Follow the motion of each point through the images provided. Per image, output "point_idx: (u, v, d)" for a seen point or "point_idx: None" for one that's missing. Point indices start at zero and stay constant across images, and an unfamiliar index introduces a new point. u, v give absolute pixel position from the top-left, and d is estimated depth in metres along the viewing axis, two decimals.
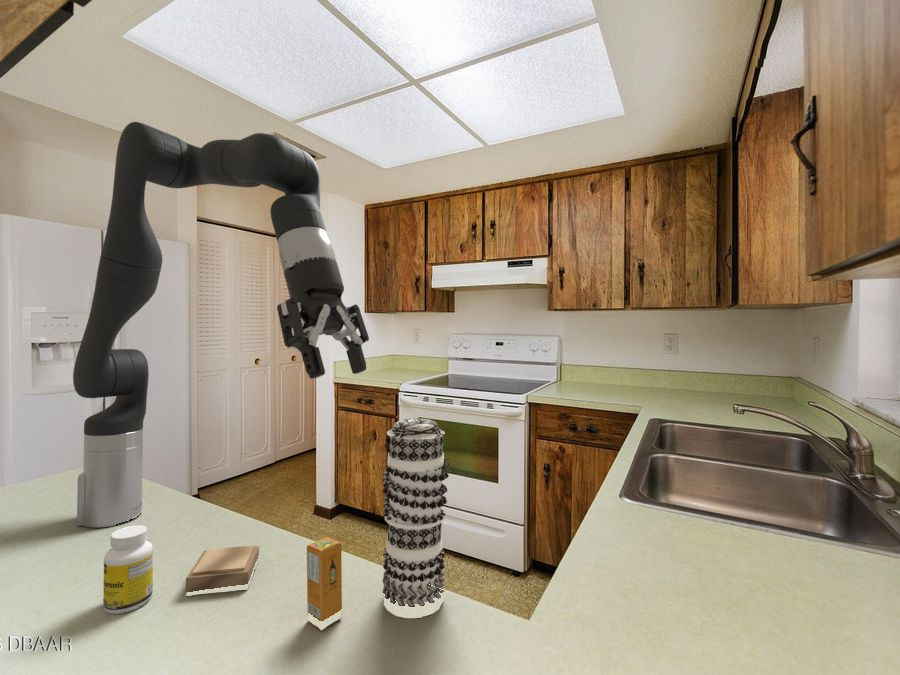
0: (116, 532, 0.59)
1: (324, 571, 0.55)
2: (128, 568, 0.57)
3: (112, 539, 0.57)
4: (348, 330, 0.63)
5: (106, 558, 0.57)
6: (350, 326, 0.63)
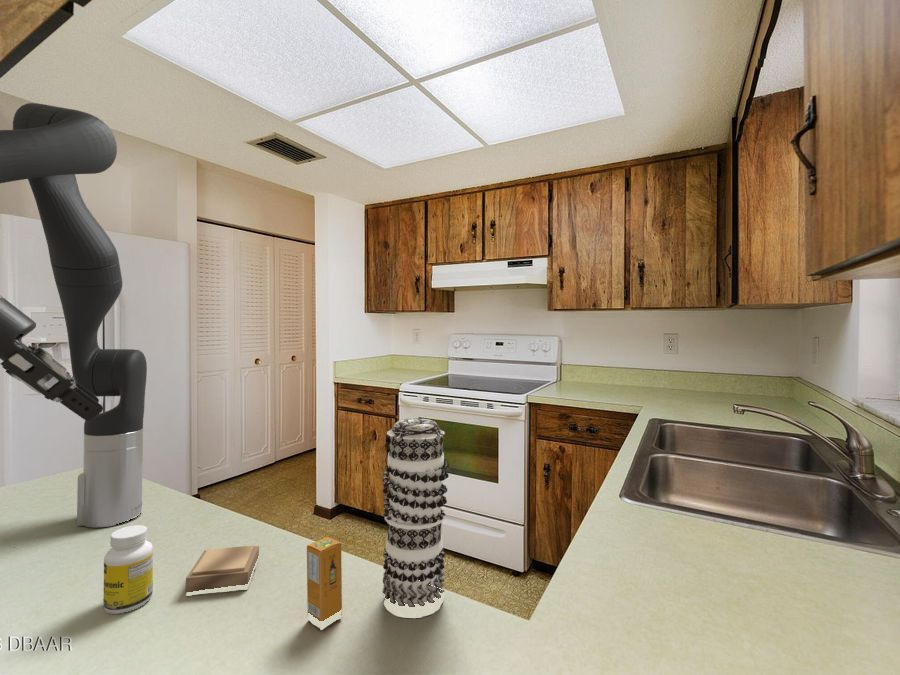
0: (116, 532, 0.59)
1: (324, 571, 0.55)
2: (128, 568, 0.57)
3: (112, 539, 0.57)
4: None
5: (106, 558, 0.57)
6: None
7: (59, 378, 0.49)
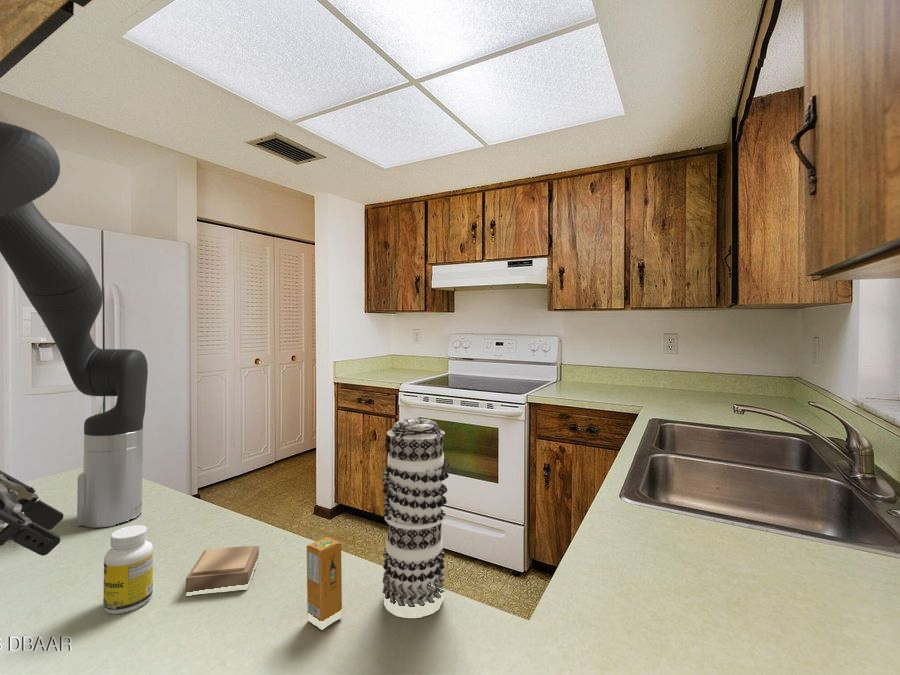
0: (116, 532, 0.59)
1: (324, 571, 0.55)
2: (128, 568, 0.57)
3: (112, 539, 0.57)
4: None
5: (106, 558, 0.57)
6: None
7: (9, 522, 0.47)
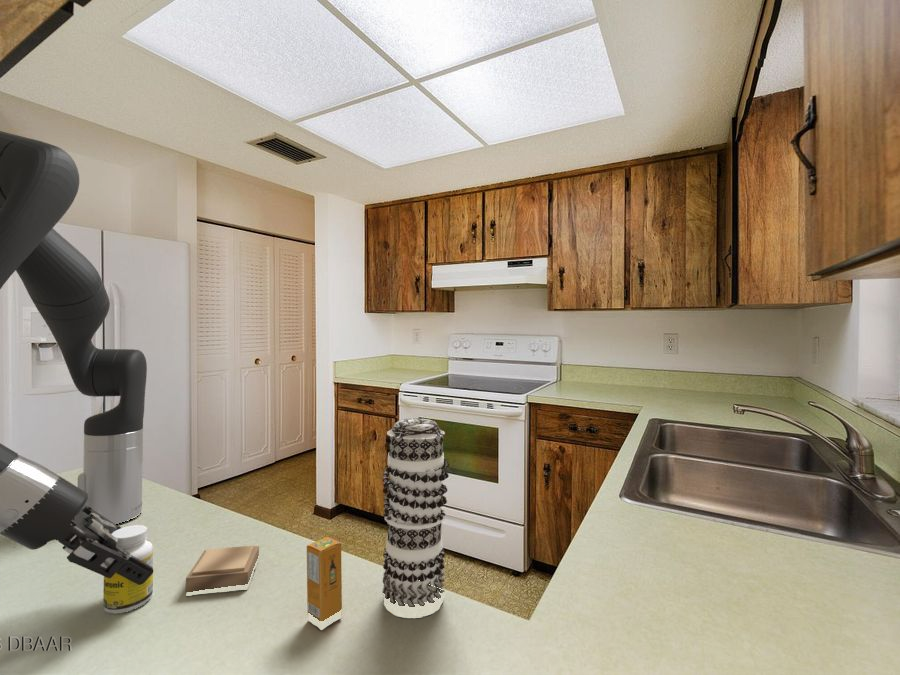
0: (116, 532, 0.59)
1: (324, 571, 0.55)
2: None
3: None
4: None
5: None
6: None
7: (118, 558, 0.54)
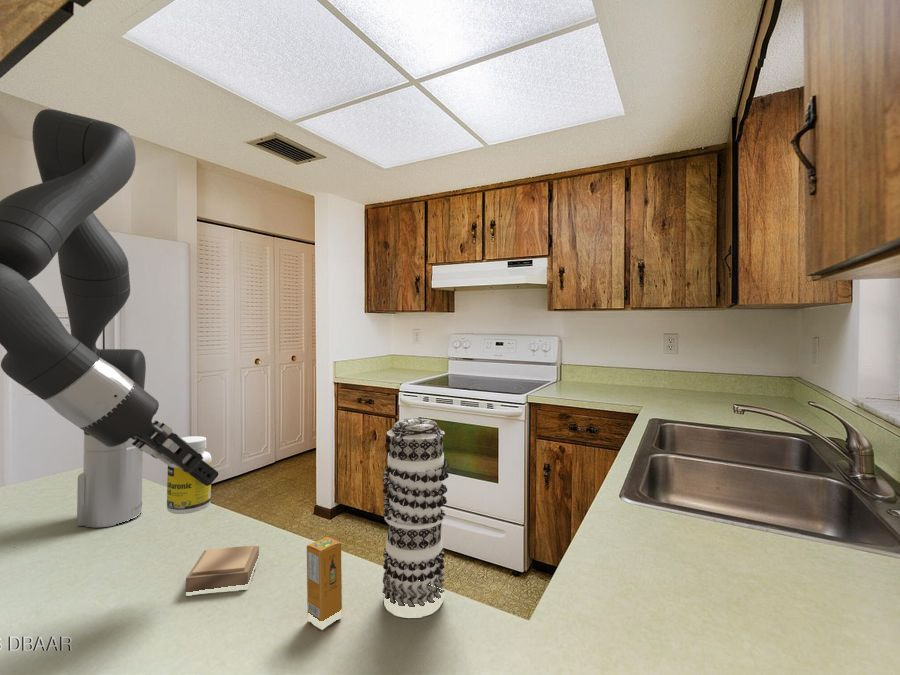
0: None
1: (324, 571, 0.55)
2: None
3: None
4: None
5: None
6: (163, 461, 0.58)
7: (196, 455, 0.57)
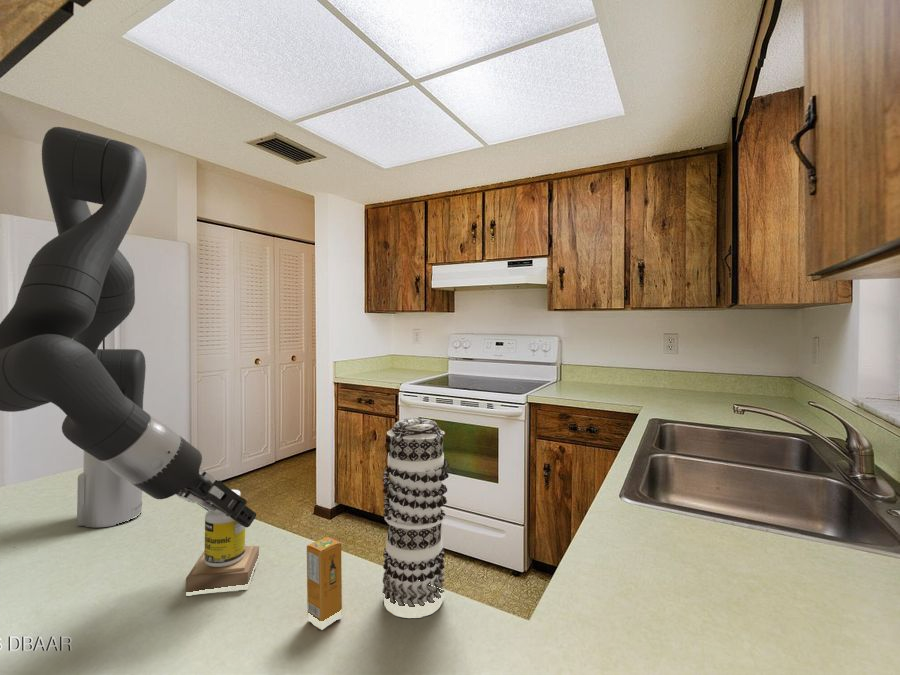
0: None
1: (324, 571, 0.55)
2: (234, 524, 0.64)
3: None
4: None
5: (212, 518, 0.63)
6: (207, 508, 0.60)
7: (241, 499, 0.60)
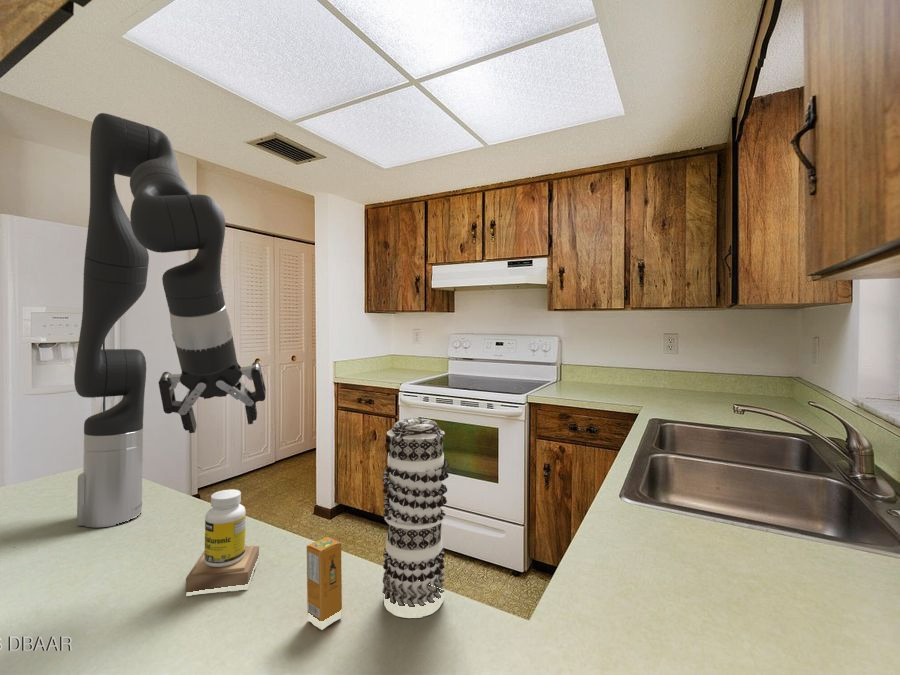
0: (214, 495, 0.65)
1: (324, 571, 0.55)
2: (234, 524, 0.64)
3: (216, 500, 0.63)
4: None
5: (212, 518, 0.63)
6: (235, 395, 0.68)
7: (264, 386, 0.72)
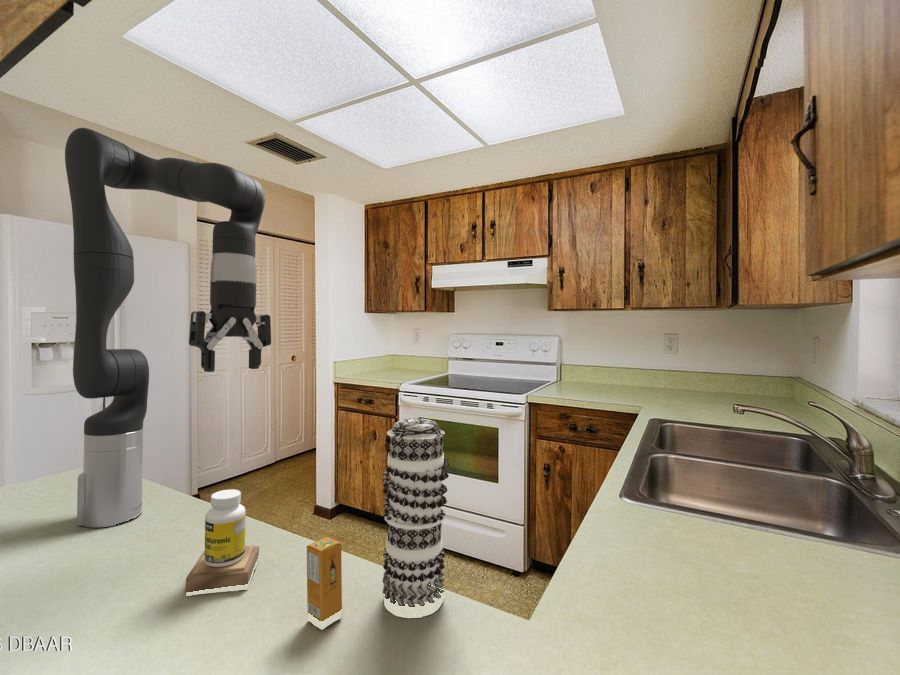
0: (214, 495, 0.65)
1: (324, 571, 0.55)
2: (234, 524, 0.64)
3: (216, 500, 0.63)
4: (250, 337, 0.81)
5: (212, 518, 0.63)
6: (253, 334, 0.81)
7: (264, 338, 0.86)
